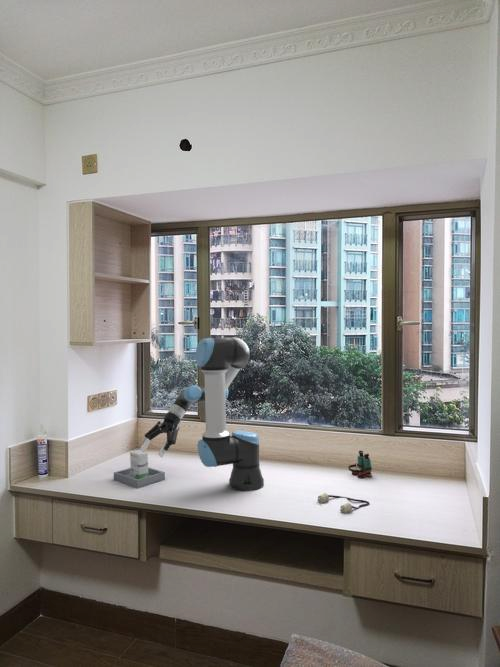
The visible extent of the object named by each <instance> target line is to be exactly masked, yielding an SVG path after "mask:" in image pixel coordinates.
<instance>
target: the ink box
mask: <svg viewBox="0 0 500 667" xmlns="http://www.w3.org/2000/svg"><path fill="white" fill-rule="evenodd" d="M148 454H149V453H148V452H143V451H140V450H139V449H138V450H130V451H129V456H130V457H129V458H130V459H129V462H130V468H131V477H133V478H135V479H141V478H144V477H148V467H149V461H148V460H149V459H148V458H149V455H148Z"/></svg>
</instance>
